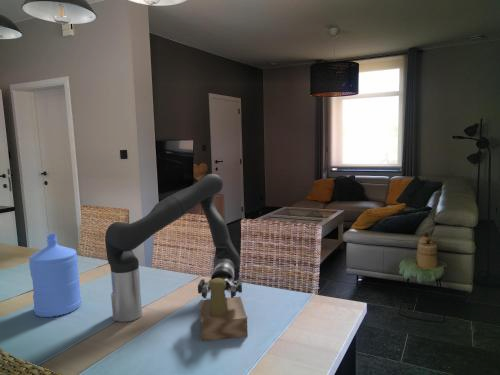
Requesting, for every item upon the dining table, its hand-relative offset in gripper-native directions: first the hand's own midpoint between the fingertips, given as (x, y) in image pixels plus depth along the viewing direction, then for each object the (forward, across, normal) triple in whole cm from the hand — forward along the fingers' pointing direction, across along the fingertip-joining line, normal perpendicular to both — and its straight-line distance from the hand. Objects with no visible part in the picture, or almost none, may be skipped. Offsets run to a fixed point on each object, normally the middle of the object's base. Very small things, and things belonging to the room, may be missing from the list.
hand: (218, 295), depth 114 cm
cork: (-2, 0, +7) cm, 7 cm away
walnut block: (-5, 0, +13) cm, 14 cm away
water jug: (-20, -62, +13) cm, 67 cm away
